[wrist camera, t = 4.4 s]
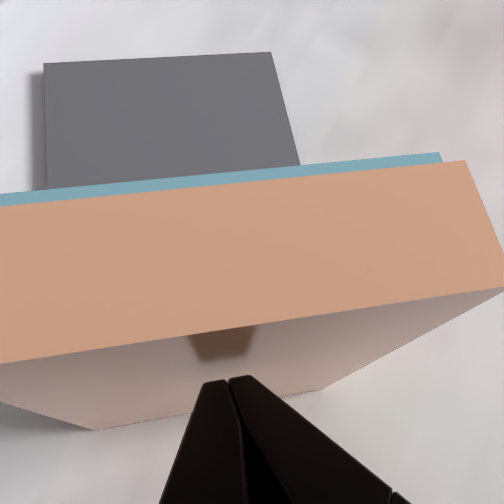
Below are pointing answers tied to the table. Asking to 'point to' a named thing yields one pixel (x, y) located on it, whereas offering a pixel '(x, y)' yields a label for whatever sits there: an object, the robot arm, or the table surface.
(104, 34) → the table surface
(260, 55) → the mat
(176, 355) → the tile
